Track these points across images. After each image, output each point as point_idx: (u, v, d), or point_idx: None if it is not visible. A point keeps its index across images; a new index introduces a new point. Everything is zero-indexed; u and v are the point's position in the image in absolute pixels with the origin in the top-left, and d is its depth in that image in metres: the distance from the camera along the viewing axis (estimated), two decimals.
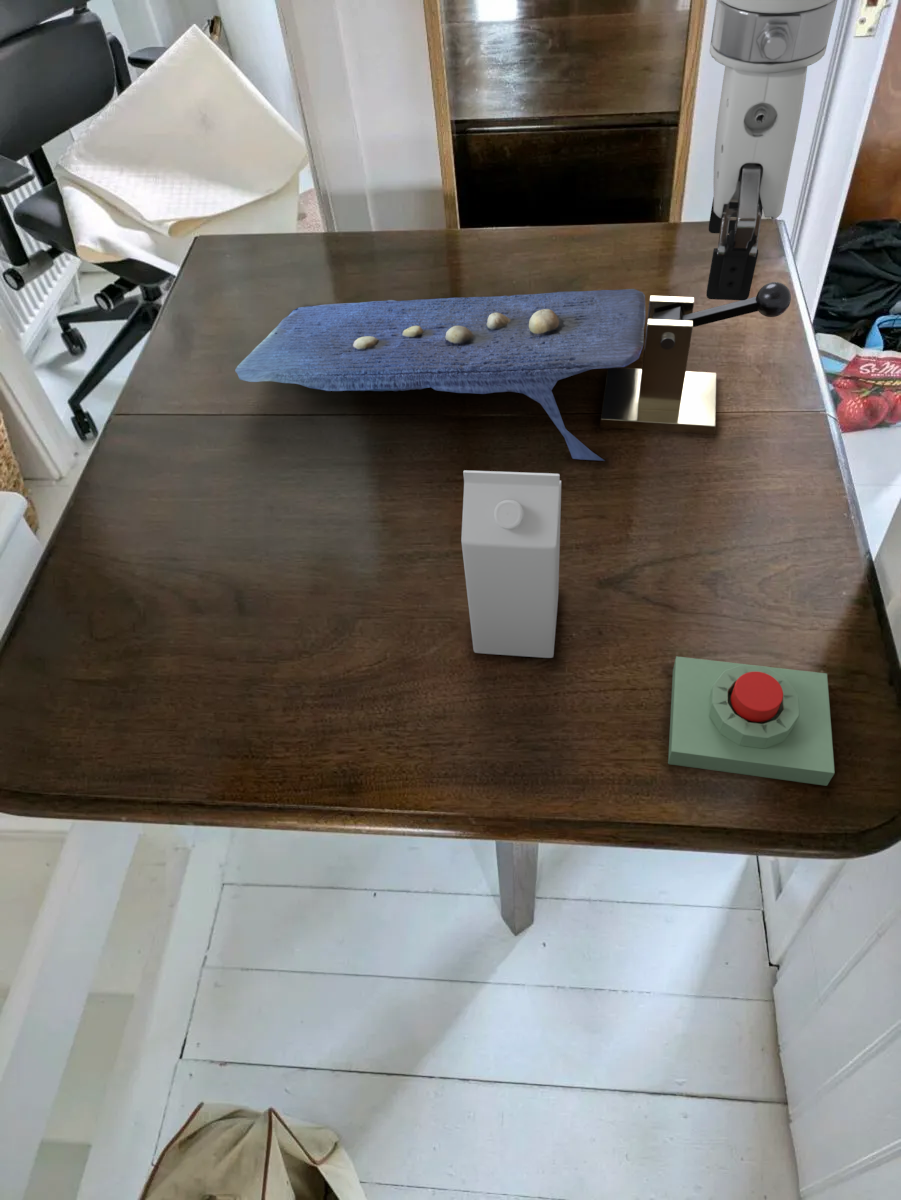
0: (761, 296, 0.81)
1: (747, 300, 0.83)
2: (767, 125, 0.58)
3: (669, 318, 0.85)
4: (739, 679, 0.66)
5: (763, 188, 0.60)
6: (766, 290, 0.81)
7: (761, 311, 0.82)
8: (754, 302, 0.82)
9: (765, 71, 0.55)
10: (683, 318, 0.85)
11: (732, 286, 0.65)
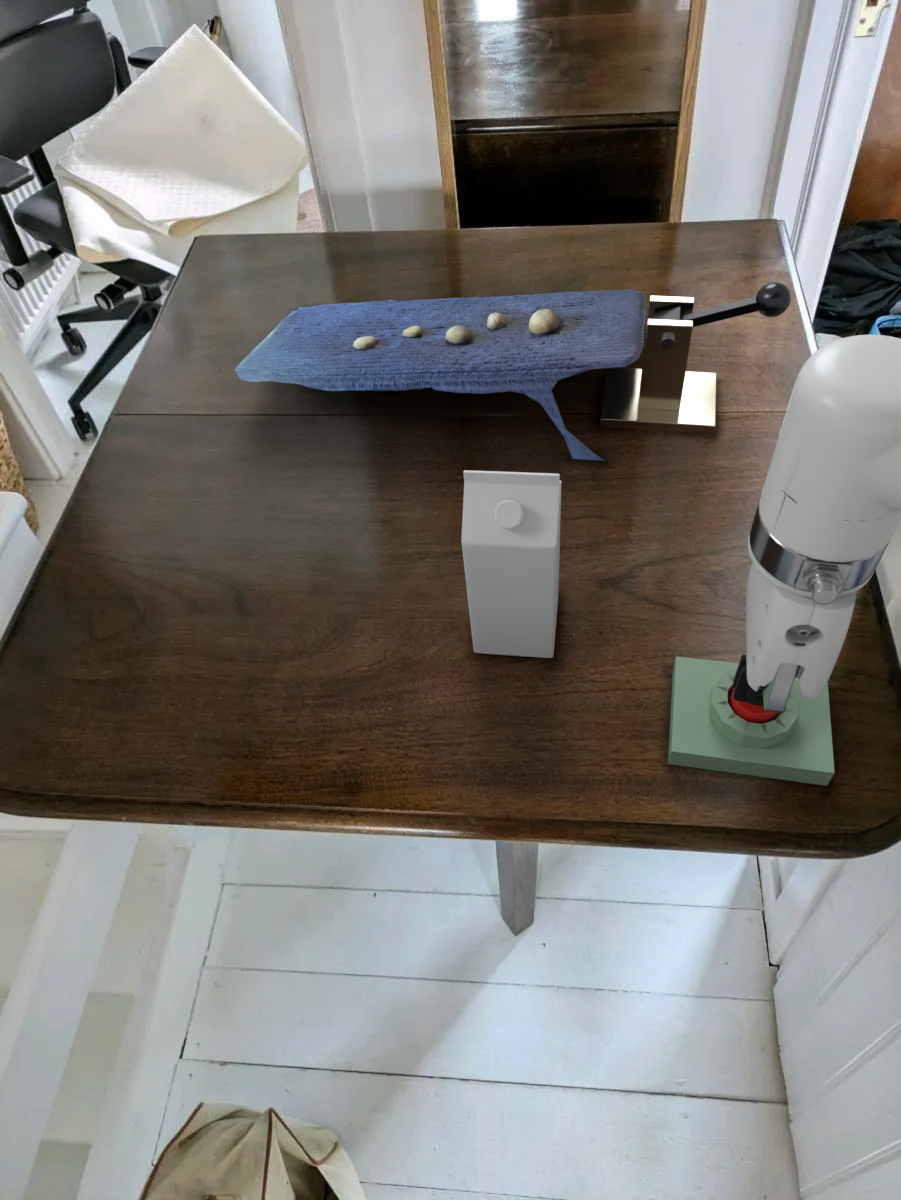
0: (761, 296, 0.81)
1: (747, 300, 0.83)
2: (810, 631, 0.53)
3: (669, 318, 0.85)
4: None
5: (804, 682, 0.55)
6: (766, 290, 0.81)
7: (761, 311, 0.82)
8: (754, 302, 0.82)
9: (811, 595, 0.50)
10: (683, 318, 0.85)
11: (760, 699, 0.64)
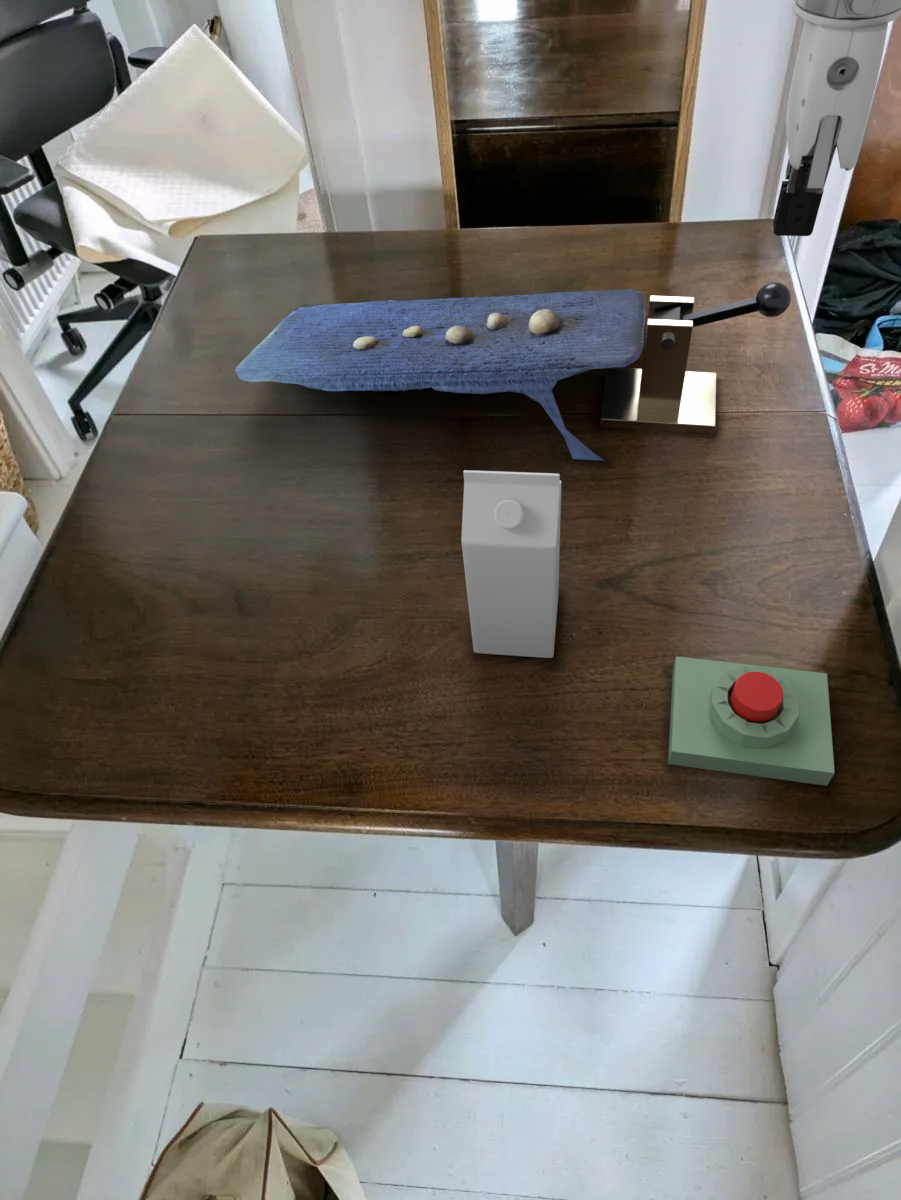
0: (761, 296, 0.81)
1: (747, 300, 0.83)
2: (847, 79, 0.61)
3: (669, 318, 0.85)
4: (739, 679, 0.66)
5: (841, 140, 0.63)
6: (766, 290, 0.81)
7: (761, 311, 0.82)
8: (754, 302, 0.82)
9: (849, 27, 0.59)
10: (683, 318, 0.85)
11: (798, 222, 0.72)
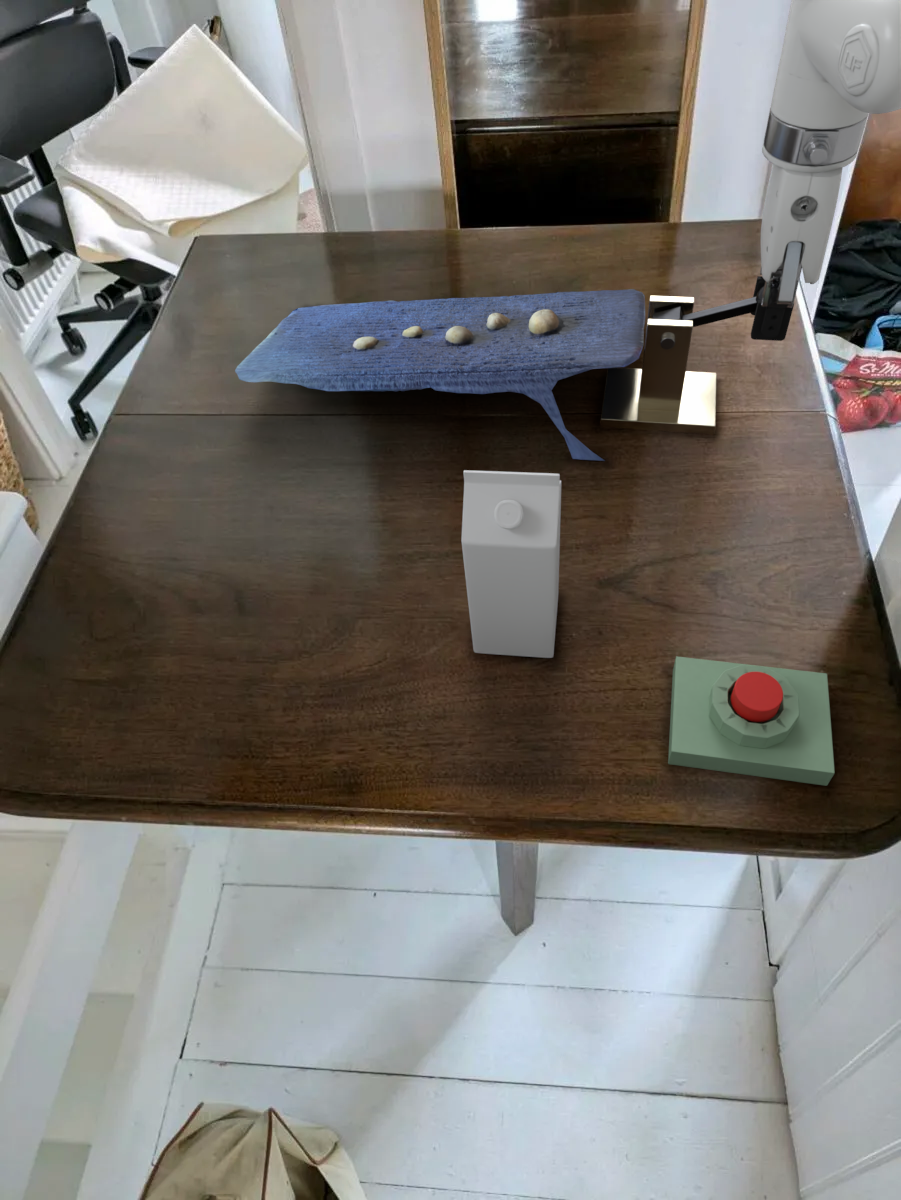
0: (761, 296, 0.81)
1: (747, 300, 0.83)
2: (809, 211, 0.71)
3: (669, 318, 0.85)
4: (739, 679, 0.66)
5: (805, 261, 0.73)
6: None
7: None
8: (754, 302, 0.82)
9: (809, 171, 0.69)
10: (683, 318, 0.85)
11: (772, 330, 0.81)
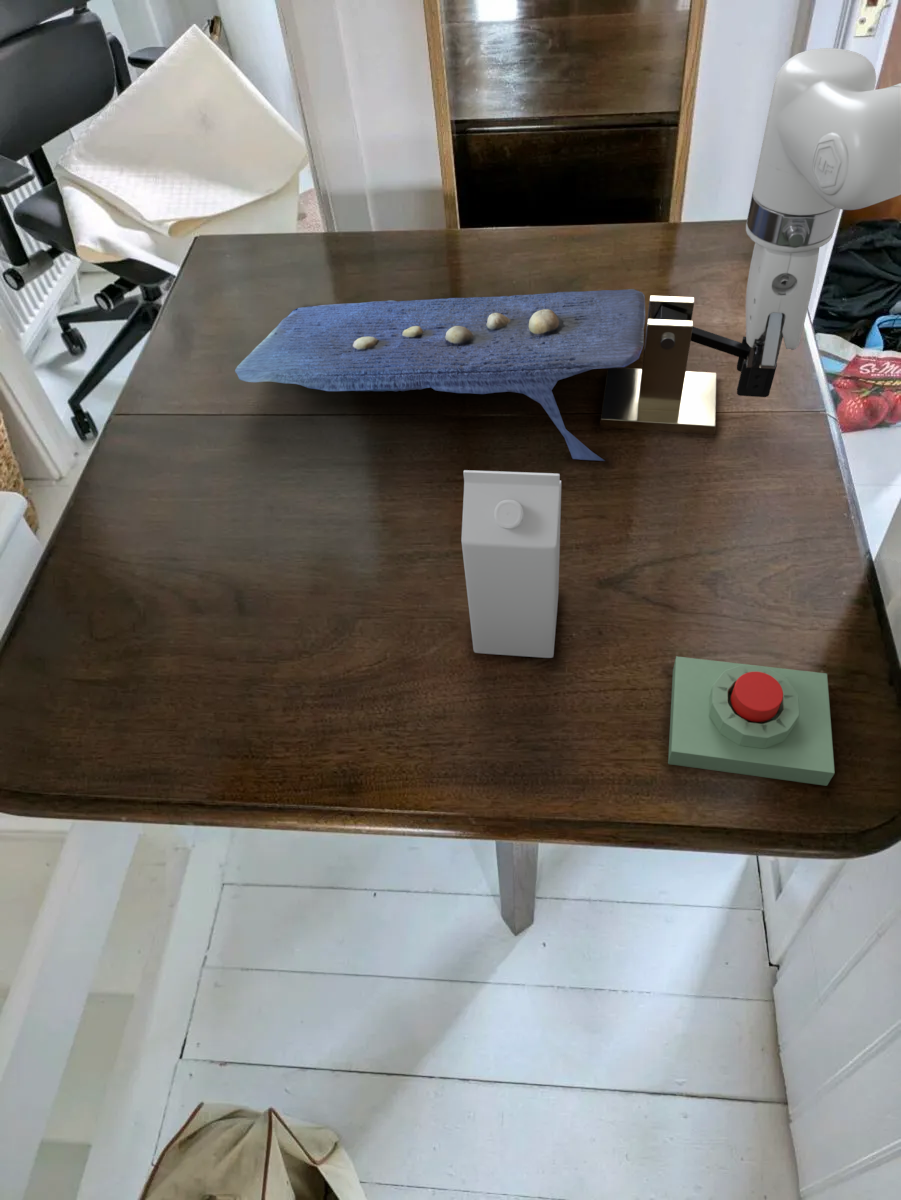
0: (757, 349, 0.86)
1: (742, 344, 0.87)
2: (789, 286, 0.77)
3: None
4: (739, 679, 0.66)
5: (785, 330, 0.79)
6: None
7: None
8: (747, 350, 0.86)
9: (788, 251, 0.74)
10: None
11: (757, 388, 0.87)
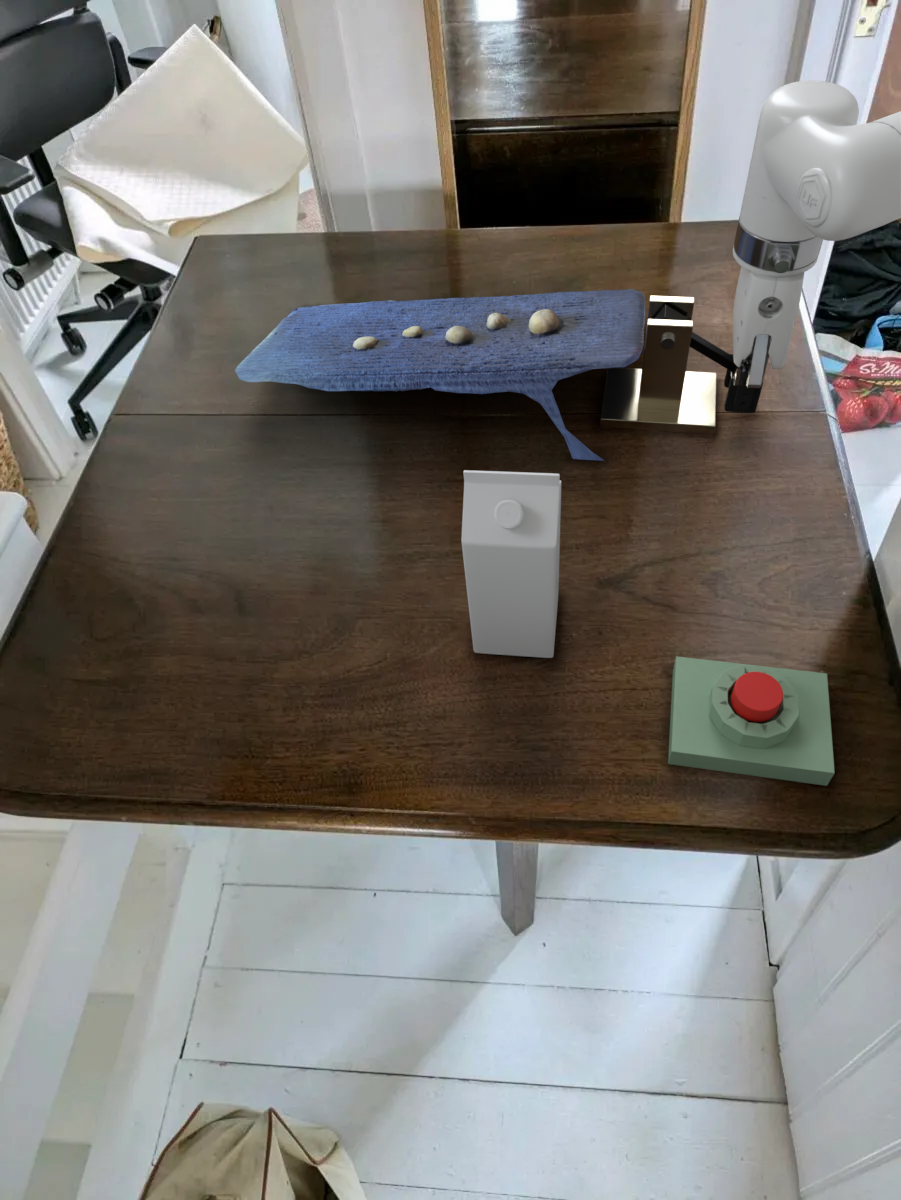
0: (747, 365, 0.87)
1: (732, 357, 0.88)
2: (775, 308, 0.79)
3: None
4: (739, 679, 0.66)
5: (771, 351, 0.81)
6: None
7: None
8: None
9: (774, 275, 0.76)
10: None
11: (744, 405, 0.89)
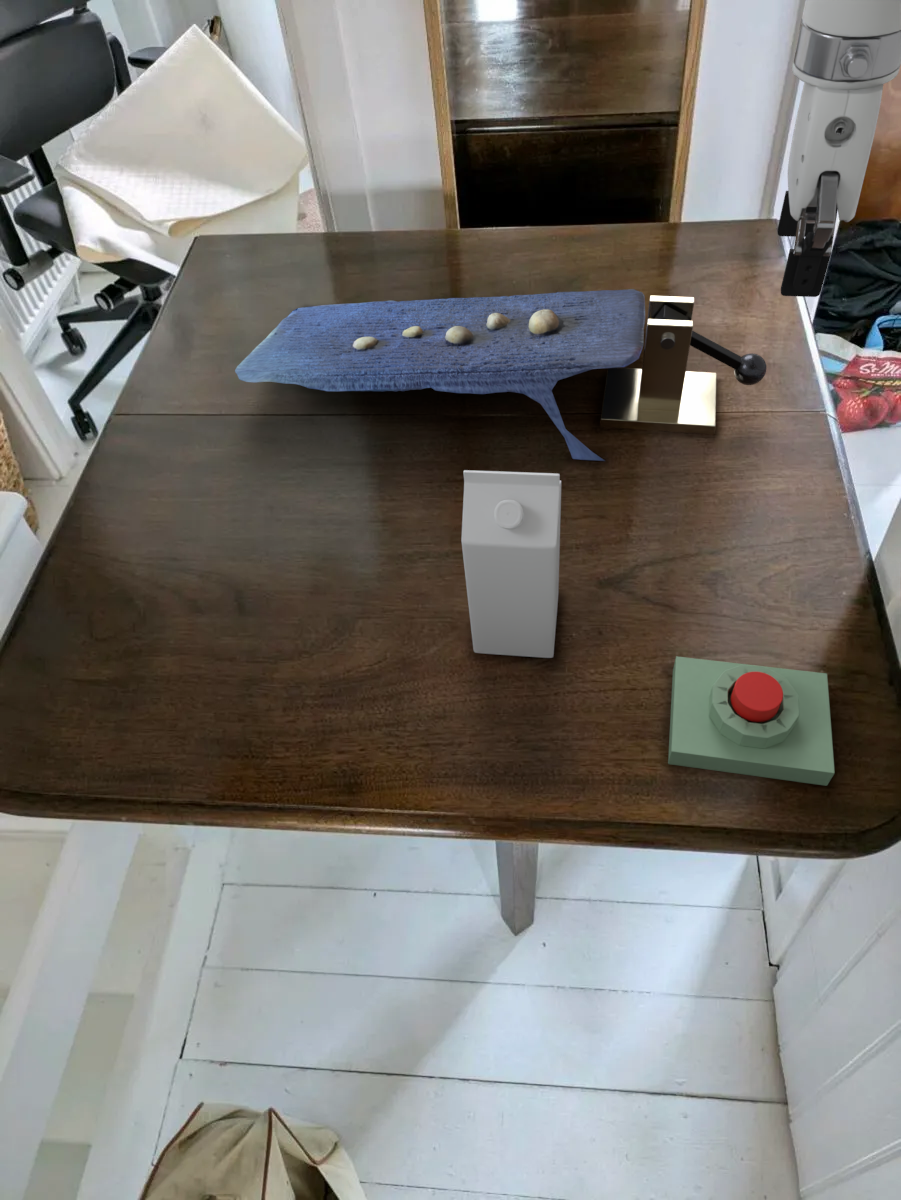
0: (749, 361, 0.87)
1: (735, 355, 0.88)
2: (845, 137, 0.64)
3: None
4: (739, 679, 0.66)
5: (839, 193, 0.66)
6: (756, 360, 0.87)
7: (739, 372, 0.88)
8: (740, 361, 0.88)
9: (846, 88, 0.61)
10: None
11: (806, 283, 0.71)
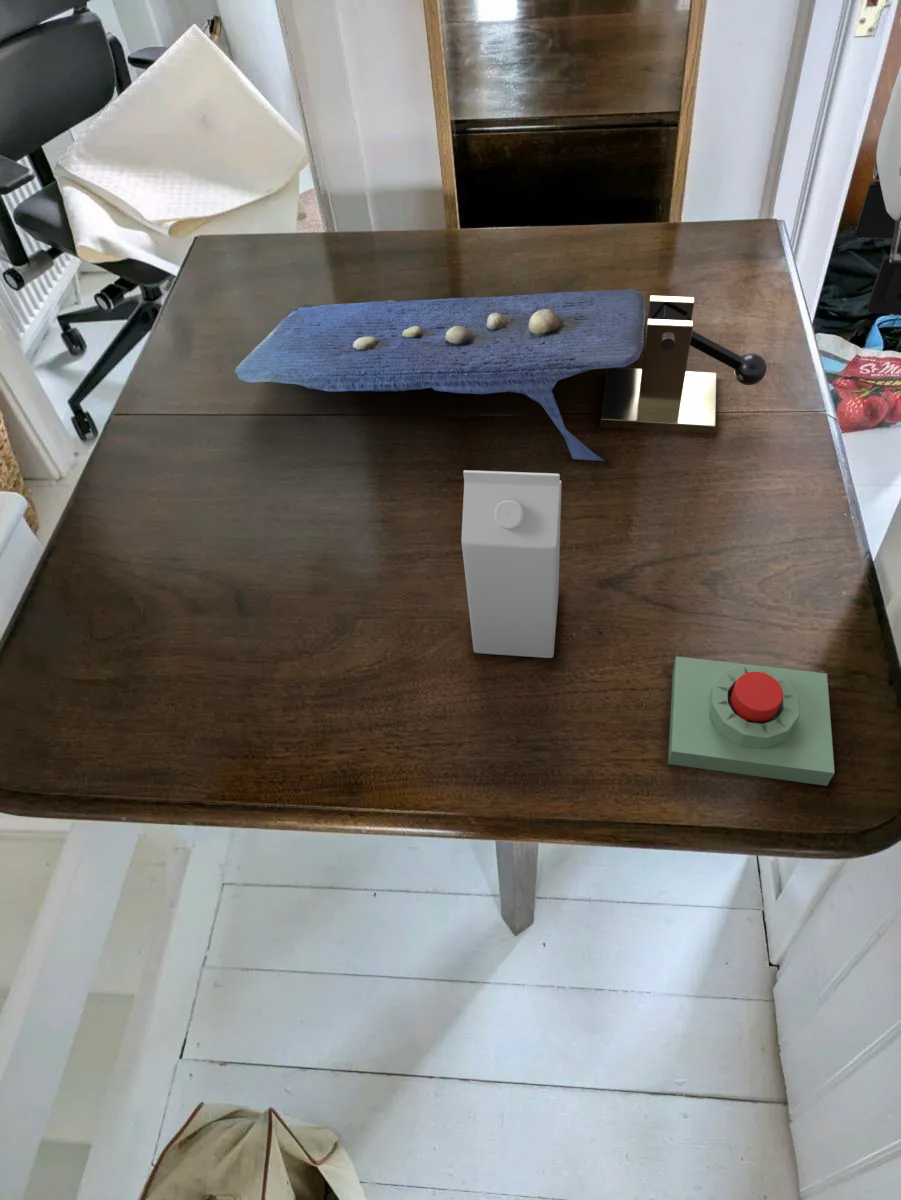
0: (749, 361, 0.87)
1: (735, 355, 0.88)
2: None
3: None
4: (739, 679, 0.66)
5: None
6: (756, 360, 0.87)
7: (739, 372, 0.88)
8: (740, 361, 0.88)
9: None
10: None
11: None
